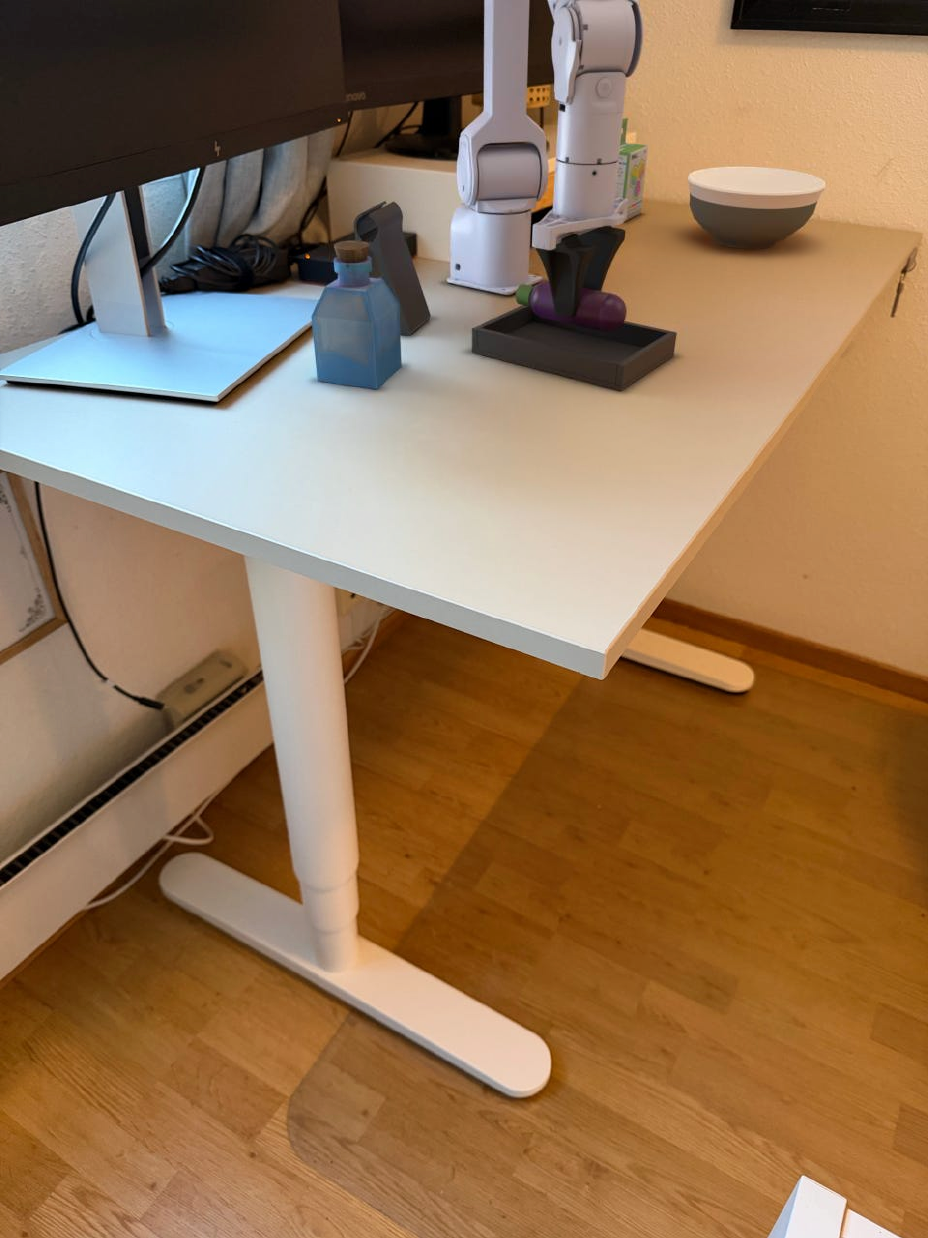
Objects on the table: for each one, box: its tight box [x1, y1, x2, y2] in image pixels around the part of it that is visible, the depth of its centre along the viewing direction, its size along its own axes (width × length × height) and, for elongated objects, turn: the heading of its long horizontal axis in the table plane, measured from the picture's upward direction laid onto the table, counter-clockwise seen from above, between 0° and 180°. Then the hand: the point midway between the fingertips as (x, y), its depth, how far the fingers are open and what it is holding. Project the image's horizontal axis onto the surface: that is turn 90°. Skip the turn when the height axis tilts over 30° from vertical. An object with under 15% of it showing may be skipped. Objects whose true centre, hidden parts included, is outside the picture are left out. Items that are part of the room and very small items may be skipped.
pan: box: [471, 305, 678, 392], centre depth 91 cm, size 17×11×2 cm, turn 54°
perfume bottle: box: [311, 240, 403, 390], centre depth 84 cm, size 6×6×12 cm
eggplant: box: [515, 280, 628, 332], centre depth 89 cm, size 12×4×4 cm, turn 54°
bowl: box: [687, 166, 827, 250], centre depth 127 cm, size 19×19×8 cm
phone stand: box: [353, 200, 432, 336], centre depth 96 cm, size 9×6×12 cm, turn 70°
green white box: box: [615, 117, 649, 223], centre depth 137 cm, size 7×4×13 cm, turn 149°
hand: (575, 309), depth 89 cm, fingers closed on eggplant, 3 cm apart
